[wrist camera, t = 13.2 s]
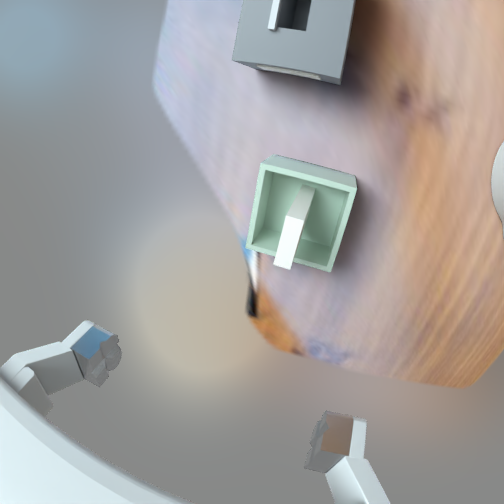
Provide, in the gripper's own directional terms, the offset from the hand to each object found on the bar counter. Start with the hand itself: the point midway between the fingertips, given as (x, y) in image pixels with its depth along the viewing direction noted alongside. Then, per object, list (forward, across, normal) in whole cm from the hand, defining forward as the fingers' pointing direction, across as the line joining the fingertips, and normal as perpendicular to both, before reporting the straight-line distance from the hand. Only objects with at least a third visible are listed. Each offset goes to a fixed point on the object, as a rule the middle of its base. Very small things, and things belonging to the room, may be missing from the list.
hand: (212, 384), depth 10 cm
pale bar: (+29, 0, +3) cm, 29 cm away
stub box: (+30, 0, +3) cm, 30 cm away
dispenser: (+30, +4, -19) cm, 36 cm away
